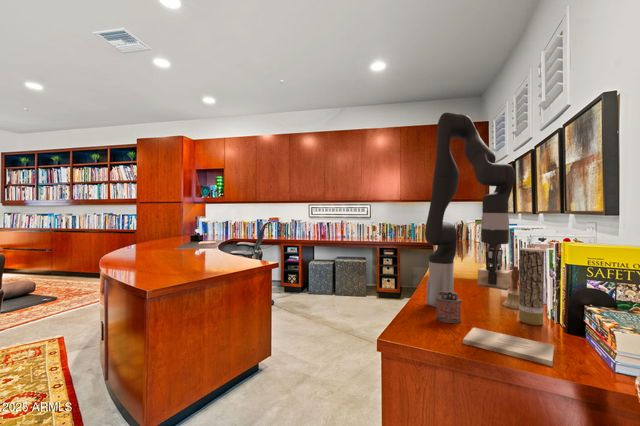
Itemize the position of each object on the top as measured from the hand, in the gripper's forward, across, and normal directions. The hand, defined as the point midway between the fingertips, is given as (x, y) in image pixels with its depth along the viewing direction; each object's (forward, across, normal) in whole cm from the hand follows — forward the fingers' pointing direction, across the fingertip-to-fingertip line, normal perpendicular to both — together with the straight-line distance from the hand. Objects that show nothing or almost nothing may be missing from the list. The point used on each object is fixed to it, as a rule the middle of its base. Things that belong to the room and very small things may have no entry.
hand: (494, 282), depth 96 cm
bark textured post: (+16, -19, +8) cm, 26 cm away
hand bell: (+16, -38, +1) cm, 41 cm away
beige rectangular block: (+1, 0, 0) cm, 1 cm away
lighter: (+16, -2, -14) cm, 21 cm away
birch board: (+15, +9, +5) cm, 19 cm away
